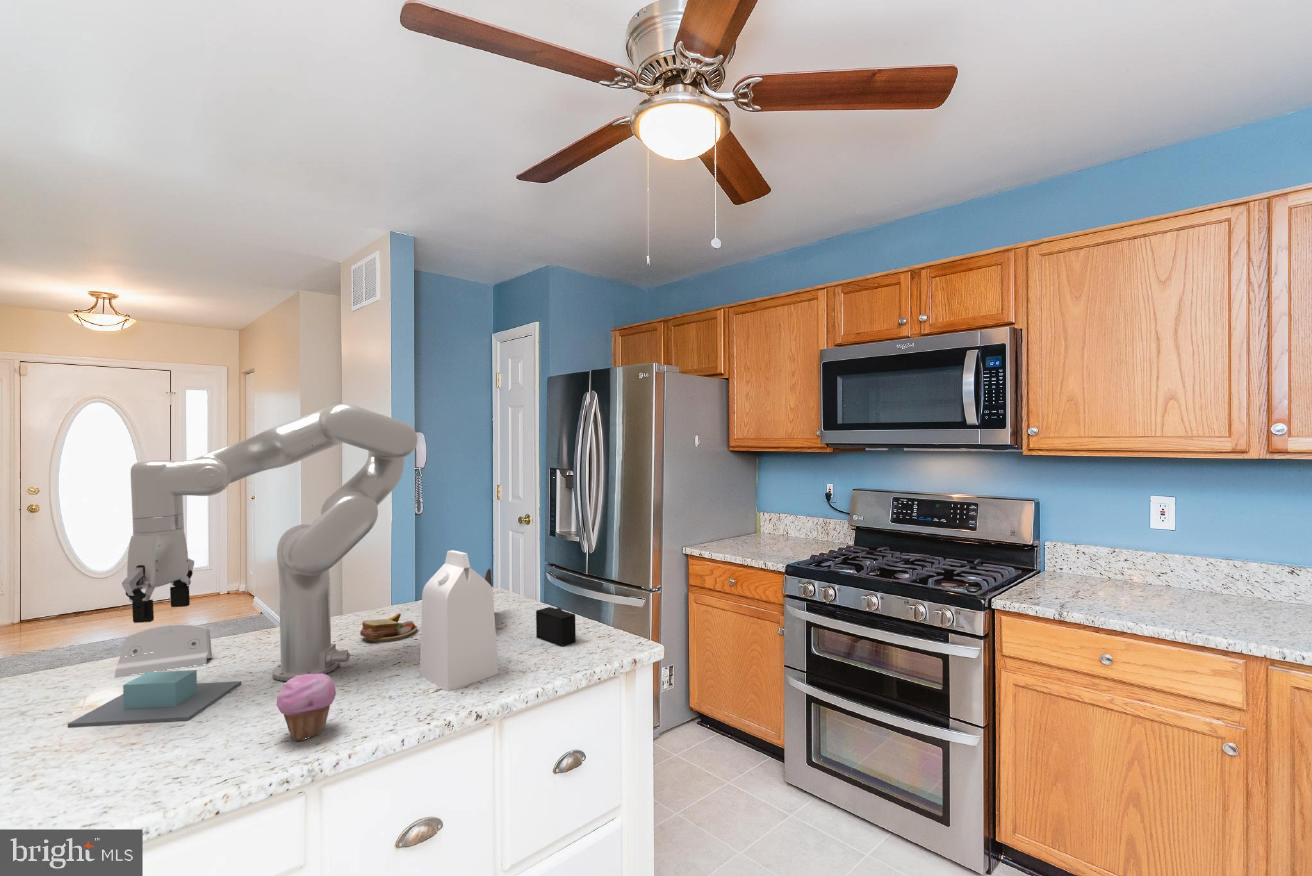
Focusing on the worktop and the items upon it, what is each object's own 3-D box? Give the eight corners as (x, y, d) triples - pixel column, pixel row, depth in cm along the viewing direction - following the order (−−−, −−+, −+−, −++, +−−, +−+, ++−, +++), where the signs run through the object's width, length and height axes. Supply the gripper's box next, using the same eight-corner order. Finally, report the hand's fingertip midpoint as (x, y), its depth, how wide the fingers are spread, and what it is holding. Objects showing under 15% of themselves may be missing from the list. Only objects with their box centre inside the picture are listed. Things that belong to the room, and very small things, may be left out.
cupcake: (271, 734, 102) (270, 675, 102) (327, 717, 108) (326, 661, 108) (285, 753, 96) (284, 690, 96) (343, 733, 102) (342, 675, 102)
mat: (241, 684, 124) (241, 681, 124) (188, 720, 108) (188, 717, 108) (137, 689, 122) (137, 686, 122) (67, 727, 106) (67, 723, 106)
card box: (147, 695, 117) (147, 672, 117) (196, 692, 118) (196, 670, 118) (123, 709, 111) (123, 685, 111) (175, 706, 112) (175, 682, 112)
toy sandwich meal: (424, 635, 153) (423, 617, 153) (367, 648, 145) (367, 628, 145) (408, 624, 163) (407, 607, 163) (354, 635, 154) (353, 617, 154)
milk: (498, 674, 127) (496, 551, 127) (447, 691, 119) (445, 560, 119) (469, 660, 135) (467, 545, 135) (419, 675, 127) (417, 552, 127)
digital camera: (580, 641, 147) (579, 612, 147) (562, 647, 143) (562, 618, 143) (553, 632, 154) (553, 605, 154) (536, 638, 150) (535, 610, 150)
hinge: (112, 678, 128) (117, 629, 131) (120, 678, 132) (126, 631, 135) (207, 664, 135) (210, 619, 138) (212, 665, 139) (216, 620, 142)
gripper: (169, 519, 123) (173, 602, 123) (100, 533, 106) (104, 630, 106) (208, 517, 124) (212, 600, 124) (146, 531, 106) (150, 627, 107)
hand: (162, 613), depth 115 cm, fingers open, 9 cm apart
